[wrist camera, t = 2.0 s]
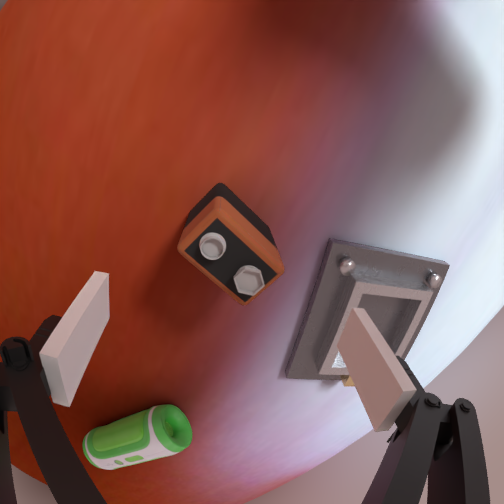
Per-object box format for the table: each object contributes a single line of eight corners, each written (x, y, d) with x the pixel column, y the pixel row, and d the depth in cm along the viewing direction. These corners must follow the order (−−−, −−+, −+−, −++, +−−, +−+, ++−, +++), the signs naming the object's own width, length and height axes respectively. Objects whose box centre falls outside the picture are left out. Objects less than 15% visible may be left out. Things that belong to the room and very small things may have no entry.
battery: (239, 259, 32) (244, 317, 23) (187, 212, 30) (171, 256, 20) (271, 229, 31) (290, 277, 22) (220, 179, 29) (217, 208, 20)
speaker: (117, 444, 44) (110, 479, 37) (86, 421, 41) (74, 456, 34) (196, 418, 41) (194, 460, 35) (162, 390, 39) (155, 434, 32)
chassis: (329, 238, 32) (339, 250, 29) (444, 261, 34) (458, 272, 31) (285, 371, 38) (289, 389, 36) (390, 373, 41) (398, 388, 38)
